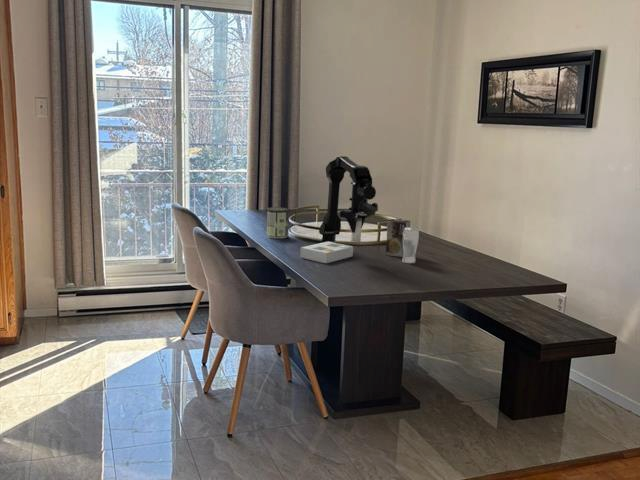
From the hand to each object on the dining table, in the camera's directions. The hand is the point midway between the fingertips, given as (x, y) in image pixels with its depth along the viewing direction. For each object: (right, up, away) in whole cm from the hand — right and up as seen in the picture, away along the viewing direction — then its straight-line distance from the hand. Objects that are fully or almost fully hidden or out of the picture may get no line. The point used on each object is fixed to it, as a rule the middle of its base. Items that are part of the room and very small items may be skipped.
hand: (356, 232), depth 283 cm
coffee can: (-37, -2, +47) cm, 60 cm away
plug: (0, -4, +1) cm, 4 cm away
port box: (-13, -11, +8) cm, 19 cm away
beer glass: (+23, -13, +6) cm, 27 cm away
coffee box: (+19, -11, +19) cm, 29 cm away
